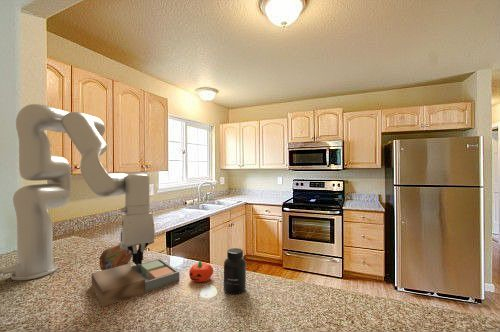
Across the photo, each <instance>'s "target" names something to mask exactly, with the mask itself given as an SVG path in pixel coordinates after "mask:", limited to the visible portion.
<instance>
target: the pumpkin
mask: <svg viewBox="0 0 500 332" xmlns="http://www.w3.org/2000/svg"><path fill="white" fill-rule="evenodd" d="M188 271H189V273H188V275H189V279H190V280H191V281H192V282H193V283H204V282H207V281H208V280H210V279H211V277H212V276H213V275H214V268H213V266H212V264H210V263H207V262H202V261H201V260H199V261H198V262H197V263H194V264H193V265H192V266H191V267H190V269H189V270H188Z"/></svg>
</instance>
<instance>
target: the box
mask: <svg viewBox="0 0 500 332" xmlns="http://www.w3.org/2000/svg"><path fill="white" fill-rule="evenodd" d="M157 260H158V261H159V262H161V263H162V264H164V267H168V268H169V269H170V270H172V271H173V272H174V273H171V274H168V275H165V276H162V277H158V278H155V279H152V280H149V277H146V276H145V275H144V274H143V273H142V272H141V264H138V265H136V264H134V265H131V266H132V267H133V268H134V269H135V270H136V271H137V272H138V273H139V274H140V275H141V276H142V277H143V278H144V279H145V293H148V292H151V291H154V290H157V289H159V288H163V287H165V286H168V285H172V284H174V283H177V282H179V281H180V270H177V269H176V268H175V267H173V266H172V265H170V264H169V263H167V262H166V261H164V260H163V259H161V258H157V259H152V260H149V261H145V262H142V264H145V263H149V262H153V261H157Z"/></svg>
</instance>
